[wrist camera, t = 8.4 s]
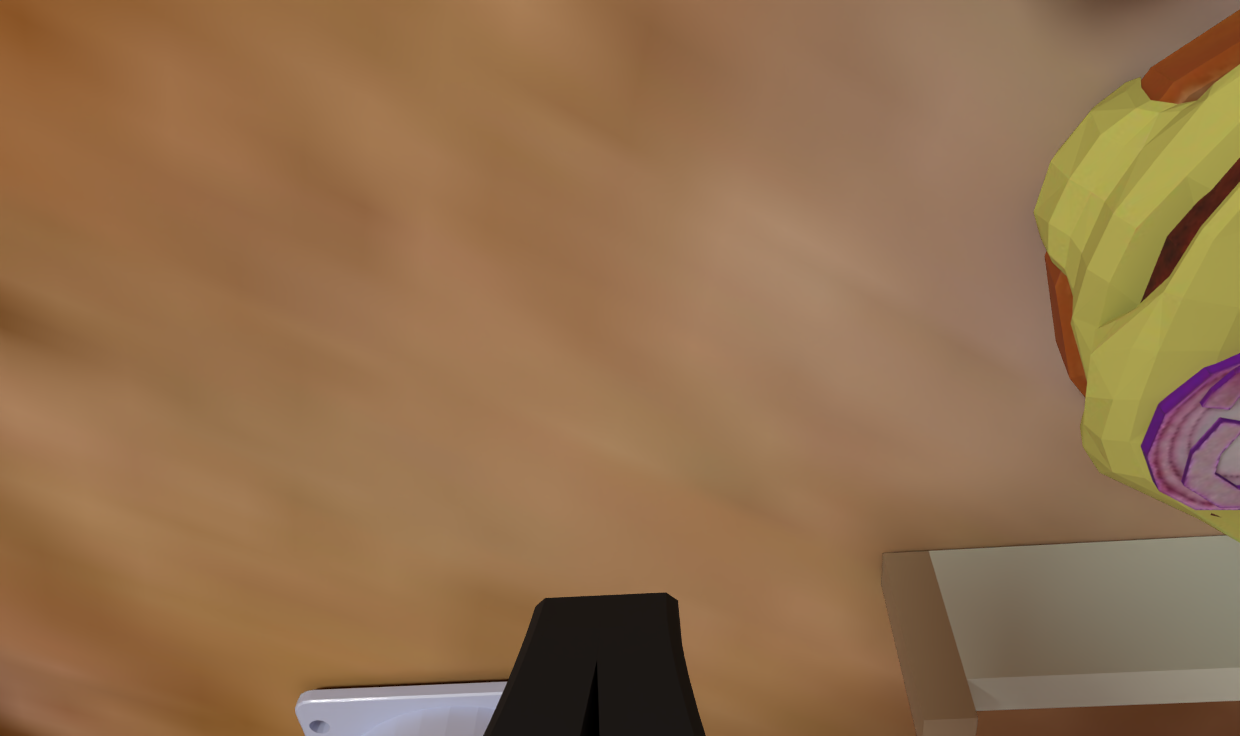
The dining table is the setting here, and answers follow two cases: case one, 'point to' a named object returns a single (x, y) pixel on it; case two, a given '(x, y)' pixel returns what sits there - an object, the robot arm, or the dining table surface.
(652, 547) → the dining table surface
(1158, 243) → the cheeseburger
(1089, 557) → the serving tray rim
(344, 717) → the robot arm
